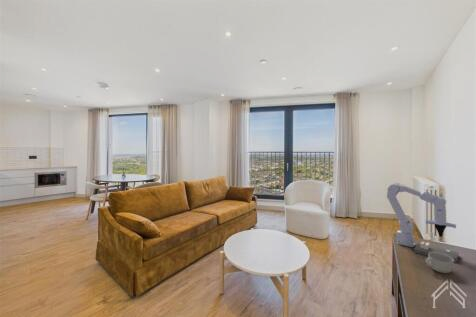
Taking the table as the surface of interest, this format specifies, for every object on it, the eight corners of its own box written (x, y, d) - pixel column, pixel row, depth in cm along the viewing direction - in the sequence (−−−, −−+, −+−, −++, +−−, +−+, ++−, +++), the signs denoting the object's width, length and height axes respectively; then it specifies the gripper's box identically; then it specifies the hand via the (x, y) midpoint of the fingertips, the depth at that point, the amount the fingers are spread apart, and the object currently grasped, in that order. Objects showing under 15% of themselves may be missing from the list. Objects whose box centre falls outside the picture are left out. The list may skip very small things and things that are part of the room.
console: (414, 252, 146) (413, 248, 145) (418, 246, 153) (417, 243, 153) (456, 262, 130) (456, 258, 130) (458, 255, 138) (458, 251, 138)
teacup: (443, 265, 128) (442, 252, 128) (460, 275, 117) (459, 261, 117) (417, 265, 129) (417, 252, 129) (432, 275, 118) (431, 261, 118)
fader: (420, 248, 146) (420, 243, 146) (422, 245, 149) (421, 241, 149) (428, 249, 143) (428, 245, 143) (429, 247, 146) (429, 242, 146)
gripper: (424, 215, 147) (425, 235, 147) (454, 219, 136) (455, 241, 136) (426, 212, 151) (427, 232, 152) (456, 216, 140) (456, 237, 141)
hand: (440, 236), depth 144 cm, fingers closed
